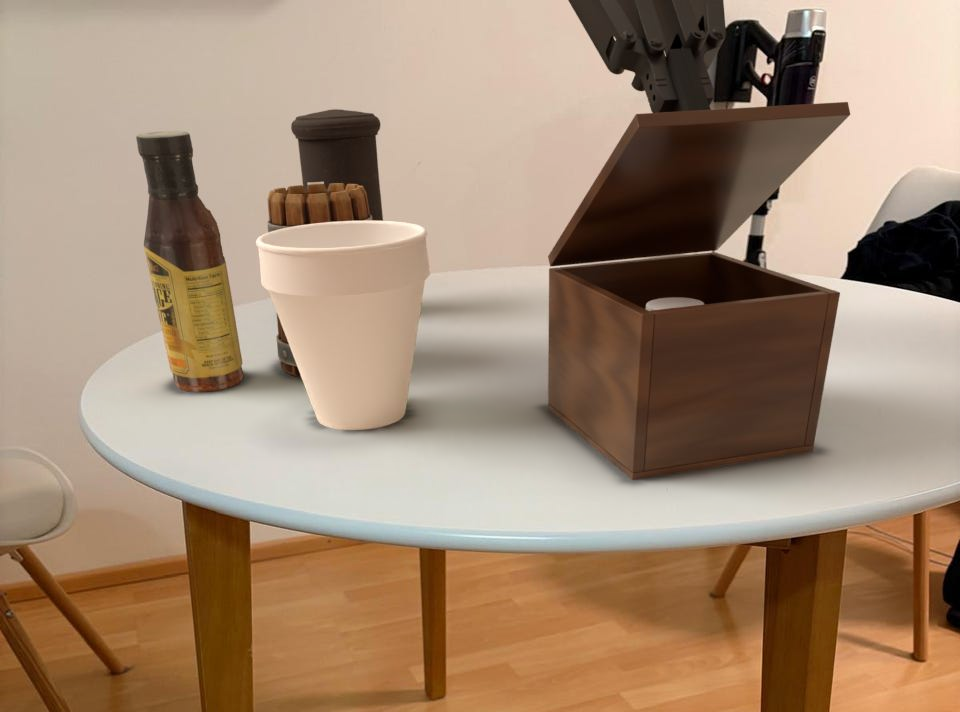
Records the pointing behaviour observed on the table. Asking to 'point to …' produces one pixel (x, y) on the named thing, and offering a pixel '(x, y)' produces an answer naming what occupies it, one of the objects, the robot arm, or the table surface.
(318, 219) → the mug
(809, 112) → the lid
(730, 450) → the chest
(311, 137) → the container
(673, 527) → the table surface
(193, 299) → the sauce bottle
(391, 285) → the white flower pot
